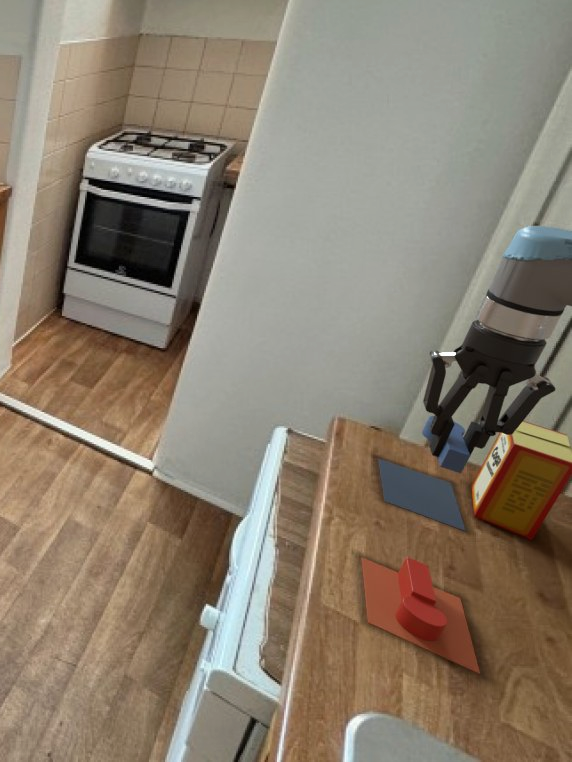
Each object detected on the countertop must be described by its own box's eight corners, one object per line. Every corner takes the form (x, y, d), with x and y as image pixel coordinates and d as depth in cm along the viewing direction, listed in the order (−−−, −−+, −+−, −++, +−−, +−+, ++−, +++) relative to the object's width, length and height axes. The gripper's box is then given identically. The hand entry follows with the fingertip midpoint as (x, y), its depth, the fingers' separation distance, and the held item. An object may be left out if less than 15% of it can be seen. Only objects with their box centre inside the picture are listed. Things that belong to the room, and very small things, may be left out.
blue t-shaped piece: (469, 476, 93) (479, 458, 91) (431, 464, 95) (440, 446, 94) (454, 437, 101) (463, 419, 100) (419, 426, 103) (427, 409, 102)
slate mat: (450, 485, 107) (451, 483, 107) (464, 533, 97) (466, 531, 97) (377, 460, 112) (378, 458, 112) (383, 503, 103) (384, 501, 103)
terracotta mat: (459, 600, 86) (460, 598, 86) (478, 676, 77) (480, 673, 76) (360, 559, 92) (361, 557, 92) (366, 624, 83) (368, 622, 82)
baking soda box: (530, 541, 96) (578, 463, 90) (473, 518, 100) (515, 442, 94) (524, 507, 102) (568, 432, 96) (470, 487, 106) (509, 414, 101)
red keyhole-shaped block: (388, 570, 90) (397, 552, 89) (428, 586, 88) (437, 569, 86) (397, 628, 82) (406, 610, 80) (441, 648, 79) (452, 629, 78)
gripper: (579, 335, 86) (508, 463, 95) (433, 304, 95) (381, 423, 103) (599, 358, 81) (522, 492, 89) (443, 323, 89) (386, 448, 98)
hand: (447, 455), depth 96 cm, fingers closed on blue t-shaped piece, 2 cm apart
